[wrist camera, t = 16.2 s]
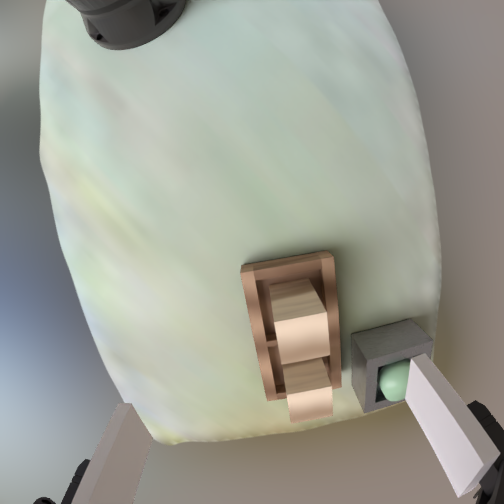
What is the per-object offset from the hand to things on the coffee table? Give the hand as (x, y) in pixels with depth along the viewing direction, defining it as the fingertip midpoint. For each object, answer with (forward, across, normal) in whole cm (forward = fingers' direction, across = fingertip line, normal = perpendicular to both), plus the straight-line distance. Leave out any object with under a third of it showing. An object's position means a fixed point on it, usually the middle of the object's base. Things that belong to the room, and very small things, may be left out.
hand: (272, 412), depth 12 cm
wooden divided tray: (+26, +3, -11) cm, 28 cm away
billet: (+25, +3, -6) cm, 26 cm away
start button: (+20, +16, -19) cm, 32 cm away
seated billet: (+24, +3, -16) cm, 29 cm away
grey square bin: (+25, +16, -19) cm, 36 cm away
